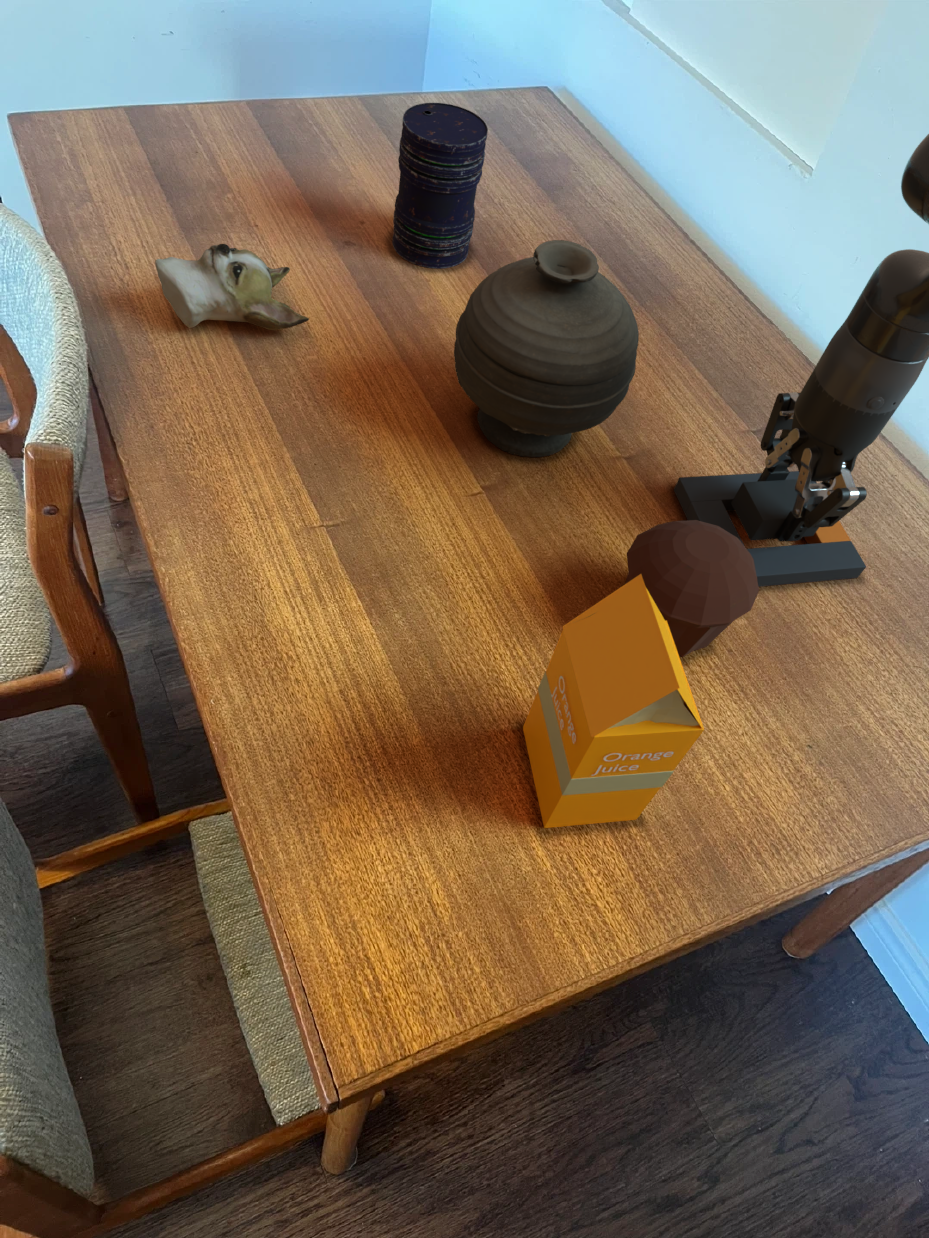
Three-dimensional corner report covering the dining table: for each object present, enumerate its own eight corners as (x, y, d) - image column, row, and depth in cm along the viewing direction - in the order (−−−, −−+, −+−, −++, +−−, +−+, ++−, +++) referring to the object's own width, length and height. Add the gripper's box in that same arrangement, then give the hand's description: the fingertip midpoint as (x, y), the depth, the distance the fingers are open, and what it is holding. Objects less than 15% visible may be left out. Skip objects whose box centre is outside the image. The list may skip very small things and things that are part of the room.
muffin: (625, 673, 76) (663, 604, 68) (590, 573, 82) (621, 500, 74) (747, 661, 79) (797, 594, 71) (705, 565, 85) (746, 494, 77)
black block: (792, 499, 89) (805, 478, 87) (813, 536, 87) (827, 515, 84) (730, 503, 88) (742, 482, 85) (750, 541, 85) (763, 520, 83)
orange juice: (610, 720, 73) (696, 570, 57) (638, 820, 68) (740, 686, 52) (520, 726, 71) (582, 574, 55) (541, 829, 66) (616, 693, 50)
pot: (502, 508, 85) (541, 319, 70) (412, 404, 94) (429, 219, 79) (644, 462, 92) (706, 283, 77) (547, 370, 101) (586, 195, 86)
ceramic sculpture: (146, 216, 90) (290, 217, 95) (152, 290, 97) (287, 287, 102) (161, 277, 85) (314, 275, 90) (167, 351, 92) (308, 345, 97)
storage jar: (485, 253, 111) (506, 132, 99) (431, 278, 106) (446, 154, 94) (430, 216, 114) (444, 94, 103) (374, 239, 109) (383, 114, 98)
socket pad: (801, 482, 94) (809, 470, 93) (857, 578, 87) (866, 566, 86) (673, 489, 91) (679, 477, 89) (720, 590, 83) (727, 578, 82)
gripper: (941, 437, 70) (838, 570, 84) (859, 326, 78) (777, 464, 92) (861, 441, 68) (769, 576, 82) (785, 326, 76) (713, 467, 90)
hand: (773, 516), depth 87 cm, fingers closed on black block, 5 cm apart
